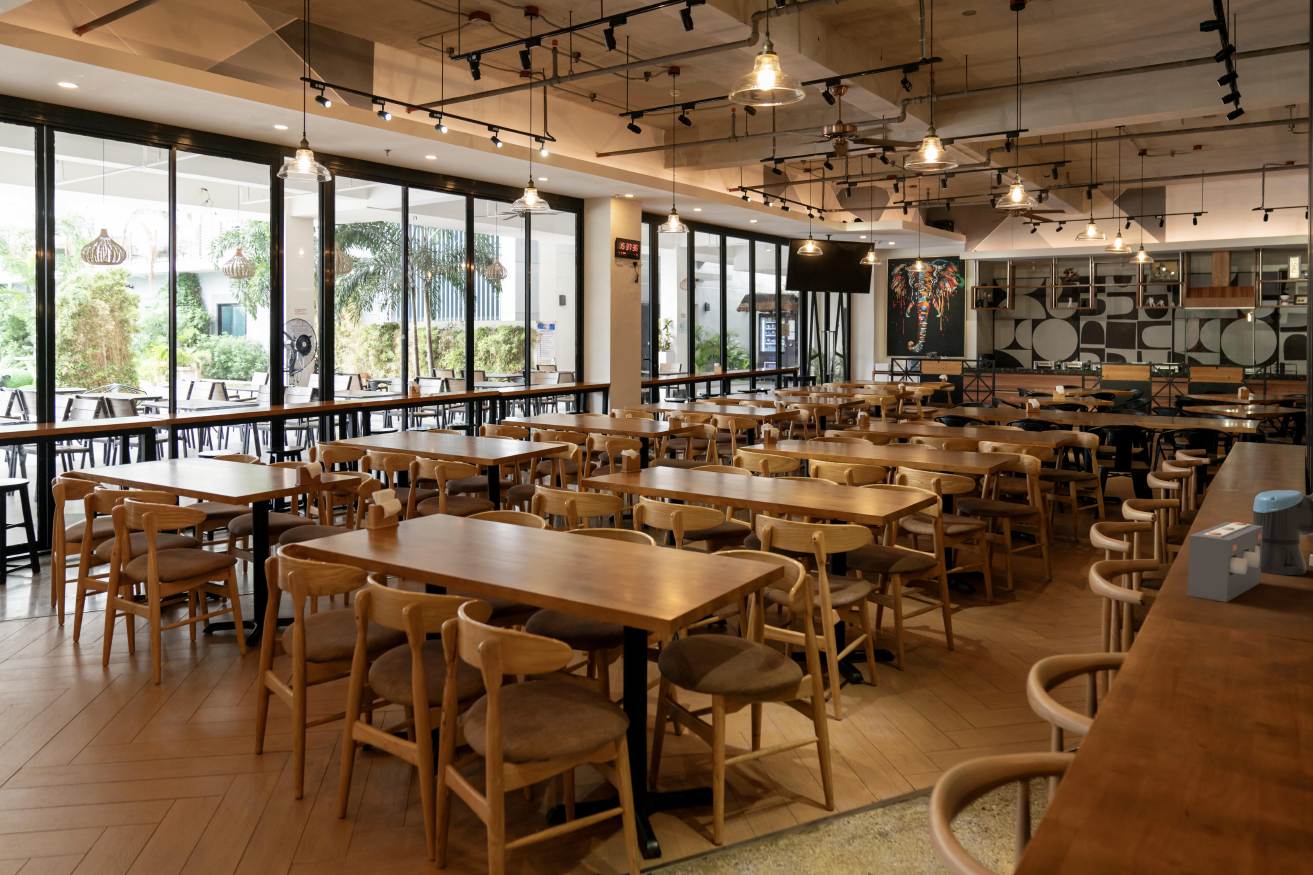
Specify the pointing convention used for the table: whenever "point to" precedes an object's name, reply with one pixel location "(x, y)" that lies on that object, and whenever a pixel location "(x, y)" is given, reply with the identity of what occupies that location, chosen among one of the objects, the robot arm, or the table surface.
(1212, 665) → the table surface
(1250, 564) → the button middle
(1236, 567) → the button
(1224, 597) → the button panel
